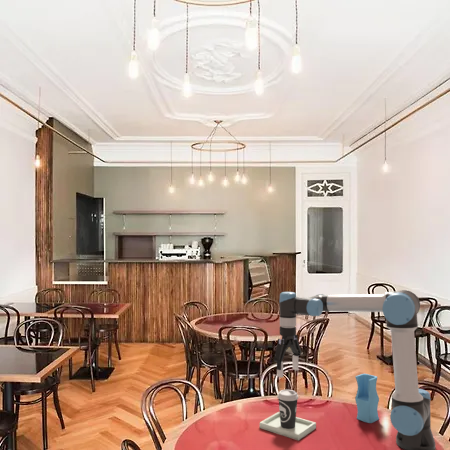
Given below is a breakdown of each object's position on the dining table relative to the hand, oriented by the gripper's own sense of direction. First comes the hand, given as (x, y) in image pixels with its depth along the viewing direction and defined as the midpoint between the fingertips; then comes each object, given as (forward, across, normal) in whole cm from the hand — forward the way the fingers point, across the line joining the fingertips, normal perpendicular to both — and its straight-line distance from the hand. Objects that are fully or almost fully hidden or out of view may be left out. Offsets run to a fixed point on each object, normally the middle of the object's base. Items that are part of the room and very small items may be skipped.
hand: (287, 373), depth 205 cm
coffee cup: (+24, 0, 0) cm, 24 cm away
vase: (+25, -33, +24) cm, 48 cm away
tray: (+25, 0, 0) cm, 25 cm away
